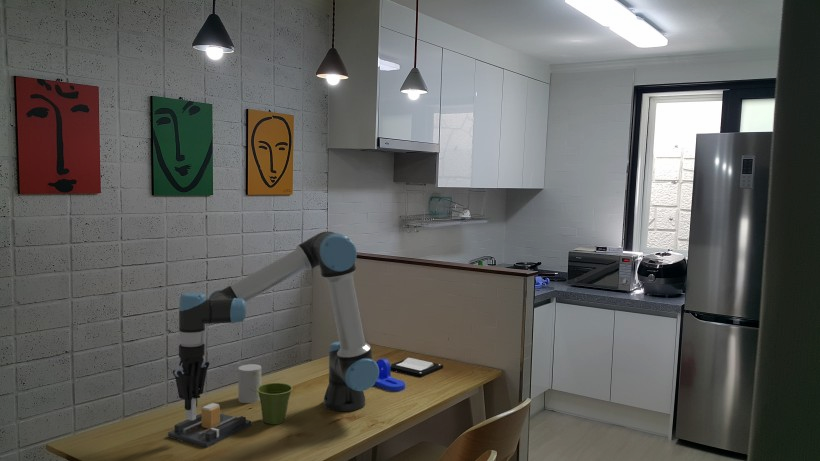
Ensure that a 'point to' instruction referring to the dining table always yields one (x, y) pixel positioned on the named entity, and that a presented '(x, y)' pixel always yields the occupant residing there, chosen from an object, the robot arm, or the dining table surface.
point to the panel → (198, 433)
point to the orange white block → (210, 415)
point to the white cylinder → (249, 383)
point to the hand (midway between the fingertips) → (190, 418)
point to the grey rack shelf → (214, 431)
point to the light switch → (415, 367)
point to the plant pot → (274, 401)
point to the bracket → (387, 377)
